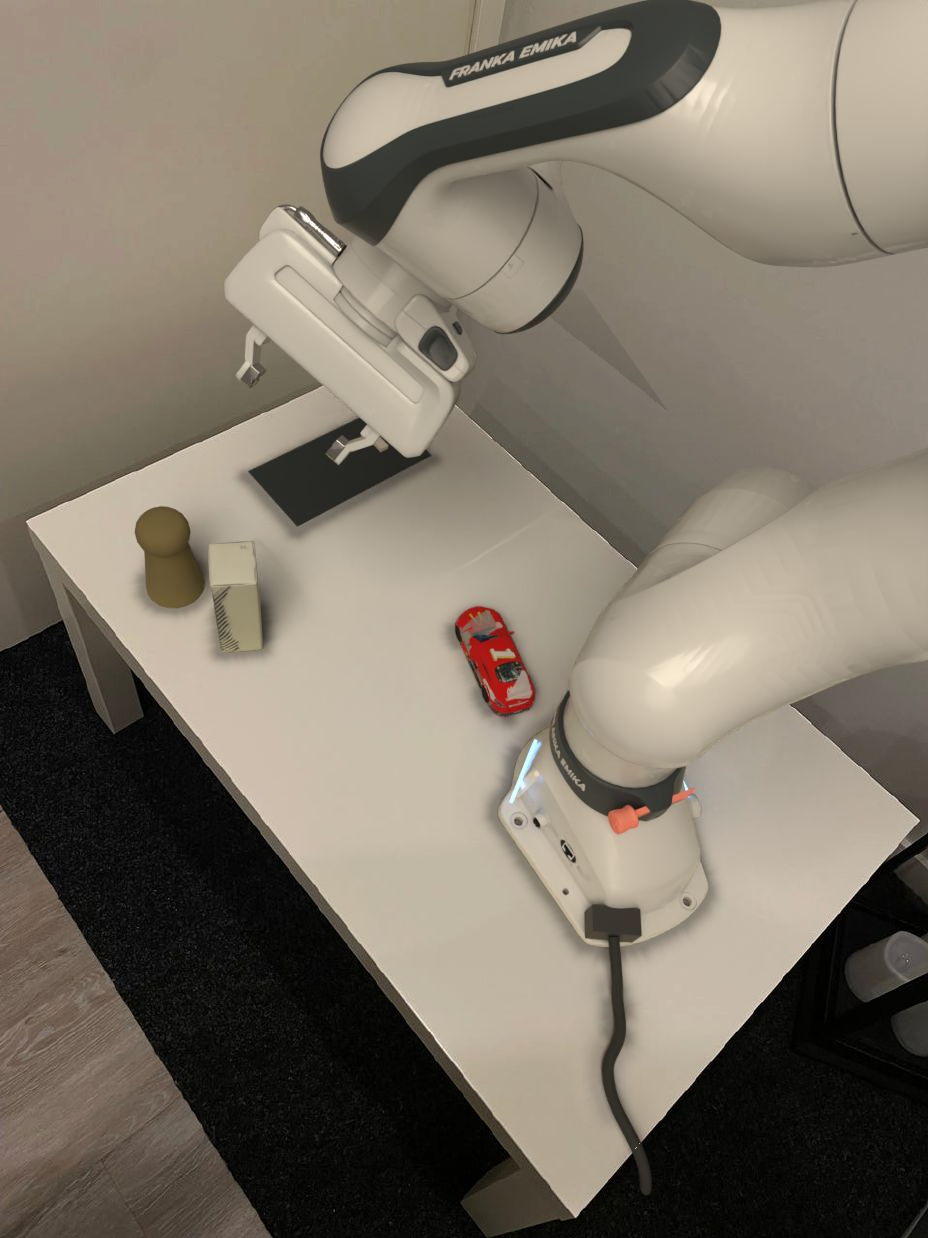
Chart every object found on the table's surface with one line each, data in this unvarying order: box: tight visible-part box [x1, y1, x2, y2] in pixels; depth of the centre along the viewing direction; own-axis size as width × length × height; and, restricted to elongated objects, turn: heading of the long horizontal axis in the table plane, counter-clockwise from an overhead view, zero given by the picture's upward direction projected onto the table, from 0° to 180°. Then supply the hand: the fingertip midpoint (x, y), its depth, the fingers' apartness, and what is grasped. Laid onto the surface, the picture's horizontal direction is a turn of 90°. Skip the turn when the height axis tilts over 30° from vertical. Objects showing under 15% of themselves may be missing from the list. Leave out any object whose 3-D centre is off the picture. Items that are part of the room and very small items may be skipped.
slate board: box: [247, 417, 432, 528], centre depth 105 cm, size 20×10×1 cm, turn 131°
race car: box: [454, 605, 536, 718], centre depth 92 cm, size 13×5×4 cm, turn 20°
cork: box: [134, 505, 206, 609], centre depth 89 cm, size 6×6×11 cm
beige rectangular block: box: [373, 437, 388, 452], centre depth 107 cm, size 1×2×1 cm, turn 41°
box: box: [208, 540, 264, 653], centre depth 86 cm, size 5×4×13 cm
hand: (289, 420), depth 72 cm, fingers open, 8 cm apart
